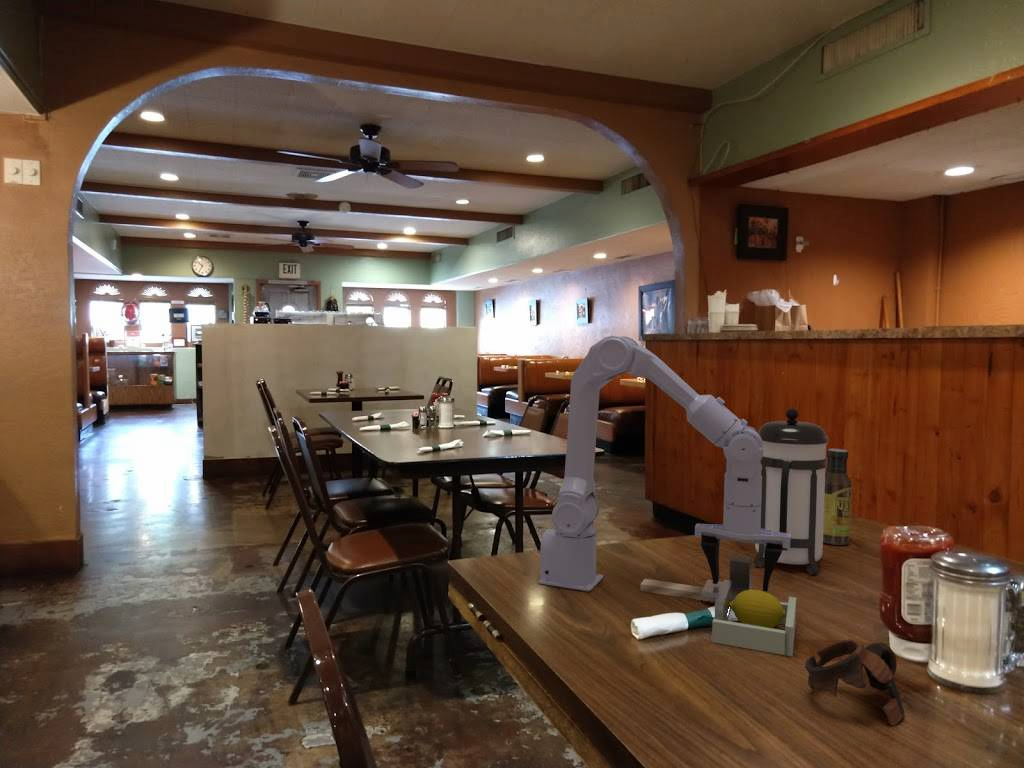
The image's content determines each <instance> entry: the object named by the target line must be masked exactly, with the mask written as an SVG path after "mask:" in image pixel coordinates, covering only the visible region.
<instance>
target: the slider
mask: <svg viewBox="0 0 1024 768" xmlns="http://www.w3.org/2000/svg"><path fill="white" fill-rule="evenodd" d="M752 559H753V558H752V557H749V556H742V555H735V554H733V555H732V556H731V557H730V560H729V580H728V579H724V580H722V581H720V580H719V581H718V584H713V579H707V580H706V582H705V584H704V586H703V587H704V588H703V590H702V596H705V597H712V598H716V601H715V603H714V619H718V620H724V621H728V618H727V613H728V609H729V603H730V602H732V601H733V600H734V599H735V598H736V596H737V595H738V594H739V593H741V592H743V591H746V590H752Z"/></svg>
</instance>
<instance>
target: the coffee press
mask: <svg viewBox="0 0 1024 768" xmlns="http://www.w3.org/2000/svg"><path fill="white" fill-rule="evenodd" d="M785 416H786V418H787V420H776V421H769V422H766V423H764V424H763V425H761V426H760V427H759V429H758V432H757V433H758V434H759V435H760V437H761V439H762V442H763V450H764V454H763V457H762V459H761V460H760V463H761V465H762V470H761V472H760V474H761V475H762V499H761V529H766V530H771V531H776V532H782V533H789V534H790V548H789V549H788V548H782V553H781V555H780V557H779V559H778V561H777V563H781V564H785V565H787V564H788V565H800V566H802V567H803V568H804V569H805V570H806V572H807V574H808V575H809V576H816V575H819V573H820V569H819V567H818V565H817V562H821V561H822V558H823V557H822V556H823V547H824V545H823V544H824V542H823V524H824V493H825V474H826V469H827V467H828V456H827V445H828V443H829V436H827V434H826V431H825V429H823V428H822V427H821V426H820V425H818V424H815V423H812V422H807V421H800V420H799V421H798V420H797V419H798V418H799V417H798V416H800V414H799V411H798V410H797V409H796V408H793V407H792V408H789V409H787V410H786V412H785ZM754 544H755V550H756V552H757V554H756V555H755V557H754V559H753V562H752V563H753V565H754V566H755V567H758V568H760V569H762V568H764V564H765V558H764V550H765V547H766V545H764V544H756V543H754ZM762 558H763V559H762Z"/></svg>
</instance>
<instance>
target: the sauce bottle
mask: <svg viewBox="0 0 1024 768" xmlns="http://www.w3.org/2000/svg"><path fill="white" fill-rule="evenodd" d="M826 457H827V467H826V470H827V471H825V493H824V524H823V544H824V543H825V544H829V545H834V546H843V545H844V546H845V545H848V544H849V542H850V536H851V519H852V503H853V483H852V479H851V478H850V476H849V474H848V473H847V471H848V469H847V467H848V459H849V450H846V449H842V448H828V449H827V450H826Z"/></svg>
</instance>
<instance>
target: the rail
mask: <svg viewBox="0 0 1024 768" xmlns="http://www.w3.org/2000/svg"><path fill="white" fill-rule="evenodd" d="M703 588H704V586H698V585H697V586H696V585H689V584H682V583H676V582H671V581H670V582H669V581H661V580H657V579H651V578H650V579H649V578H644V579H643V580H642V582H640V587H639V589H640V592H645V593H651V594H658V595H663V596H668V597H669V596H670V597H676V598H682V597H683V598H682V599H688V598H689V600H694V599H695V600H696V601H701V600H703V601H702V602H707V601H710V602H709V603H714V602H715V601H716V598H712V597H705V596H702V590H703Z"/></svg>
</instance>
